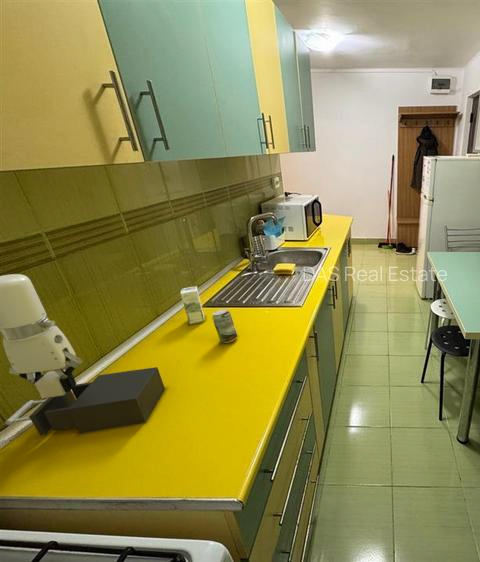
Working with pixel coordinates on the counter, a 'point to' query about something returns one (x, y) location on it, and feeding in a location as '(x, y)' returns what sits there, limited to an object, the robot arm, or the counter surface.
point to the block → (50, 385)
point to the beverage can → (224, 325)
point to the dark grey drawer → (50, 411)
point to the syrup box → (192, 305)
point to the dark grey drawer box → (117, 400)
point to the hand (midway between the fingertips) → (58, 389)
